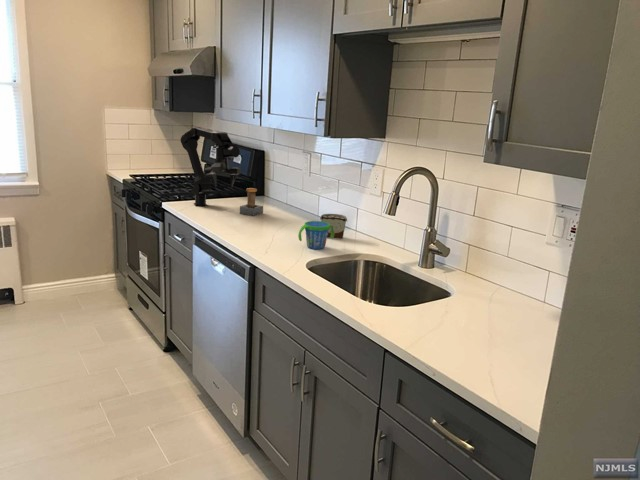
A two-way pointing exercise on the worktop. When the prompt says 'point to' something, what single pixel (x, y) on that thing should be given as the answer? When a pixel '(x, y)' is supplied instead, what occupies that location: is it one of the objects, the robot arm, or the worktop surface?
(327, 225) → the snack cup
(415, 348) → the worktop surface
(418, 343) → the worktop surface
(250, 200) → the pin
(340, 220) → the food container
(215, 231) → the worktop surface
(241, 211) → the block
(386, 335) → the worktop surface
